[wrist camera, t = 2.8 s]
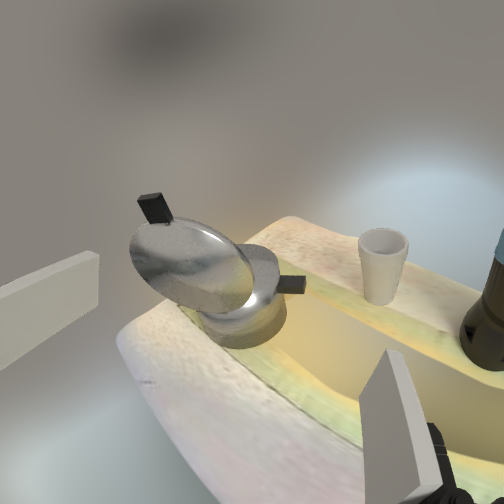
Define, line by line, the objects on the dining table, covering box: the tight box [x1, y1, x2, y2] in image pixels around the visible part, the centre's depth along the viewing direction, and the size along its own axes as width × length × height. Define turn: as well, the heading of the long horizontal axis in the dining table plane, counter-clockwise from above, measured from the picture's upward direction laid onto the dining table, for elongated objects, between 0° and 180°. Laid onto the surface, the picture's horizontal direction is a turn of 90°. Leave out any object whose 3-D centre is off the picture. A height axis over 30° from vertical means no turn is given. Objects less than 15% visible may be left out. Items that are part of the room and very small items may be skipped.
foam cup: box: [358, 228, 409, 306], centre depth 53 cm, size 10×9×13 cm
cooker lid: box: [129, 193, 255, 314], centre depth 39 cm, size 22×18×1 cm
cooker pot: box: [198, 244, 306, 349], centre depth 57 cm, size 17×26×12 cm, turn 74°
